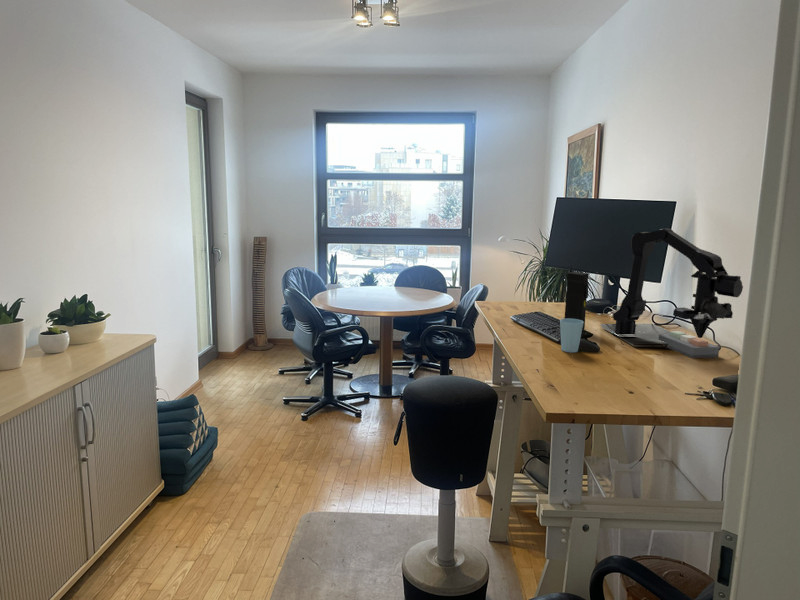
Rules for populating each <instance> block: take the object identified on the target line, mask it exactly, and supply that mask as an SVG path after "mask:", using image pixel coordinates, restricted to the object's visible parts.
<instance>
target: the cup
mask: <svg viewBox="0 0 800 600" xmlns="http://www.w3.org/2000/svg"><path fill="white" fill-rule="evenodd" d="M559 322H560V323H559V326H560V347H561V348H560V349H561V351H563V352H565V353H578V352H579V346H580V341H581V337H582V332H583V330H582V328H583V323H584V322H583V321H582V320H578V319H570V318H566V319H564V318H561V319H560V320H559Z"/></svg>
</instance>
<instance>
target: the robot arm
mask: <svg viewBox="0 0 800 600" xmlns="http://www.w3.org/2000/svg"><path fill="white" fill-rule="evenodd" d="M662 242H664V243H665V244H667V245H669V247H672V248H673V249H675V250H676V251H677V252H679V253H680V254H682V255H683V256H685V257H686V258H688V260H689V261H690V262H691V265H692V266H694V267H695V268H696V269H697V271H696V272H694V273H693V274H691V275H690V277H691V278H694V279H697V280H696V281H697V282H696V289H695V293H692V298H694V305H691V307H690V308H688V307H675V308H674V309H673V313H672V316H673V317H677V318H679V319H683V320H690V321H691V323H692V326H693V328H694V331H695V334H696V337H697V339H702V338H703V337H704V335H705V333H706V331H707V329H708V328H709V327H710V325H711V324H712V323H713V322H717V320H718V319H733V314H734V311H732V304H731V303H729V302H724V303H720V302H719V298H718V296H719V295H720V296H726V297H732V298H739V297H740V296H741V295H742V292H743V289H744V285H743V282H742V280H741V276H740V275H730V274H729V273H728V271H727V270H726V268H725V266H724V265H723V259H722V257H721V256H720V255H717V254H715V253H712V252H711V251H707V250H704V249H701V248H699V247H697V246H696V245H695V244H693V243H691V242H690V241H689V240H687V239H686V238H684V237H682V236H680V235H679V234H678V233H676V232H674V230H673V229H671V228H661V229H658V230H653V231H643V232H641V231H640V232H635V233H634V234H633V235H632V236H631V245H630V246H631V248H630V249H631V251H632V252H631V253H632V254H633V259H632V265H631V271H630V277H629V281H628V288H627V293H626V295H625V296H624V298H623V299H622V301H621V304H620V307H619V309H618V310H617V311H616V312H614V313H613V314H612V317H613V321H615V329H614V332H612V335H614V336H616V337H618V336H617V335H615V334H614V333H616V334H635V335H636V329H637V328H636V327H637V324H636V321H639V319H640V317H641V316H642V315H643V314H644V312H645V311H646V304H647V300H646V299H643V295H642V293H643V287H644V282H645V275H646V271H647V265H648V260H649V256H650V255H651V254H652V252H653V251H654V249H655V246H656V244H657V243H662ZM716 294H717V295H718V296H716Z"/></svg>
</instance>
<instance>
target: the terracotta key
mask: <svg viewBox="0 0 800 600" xmlns="http://www.w3.org/2000/svg"><path fill="white" fill-rule="evenodd" d="M708 343H709V341H707V340H705V339H702V338H697V339H691V344H692V345H695V346H698V347H704V346H708Z"/></svg>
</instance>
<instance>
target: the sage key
mask: <svg viewBox="0 0 800 600" xmlns="http://www.w3.org/2000/svg"><path fill="white" fill-rule="evenodd" d="M669 334H670V336H672V337H674V338H680V337H681V335H687V333H686V332H683V331H680V330H676V331H674V330H671V331H670V332H669Z"/></svg>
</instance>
